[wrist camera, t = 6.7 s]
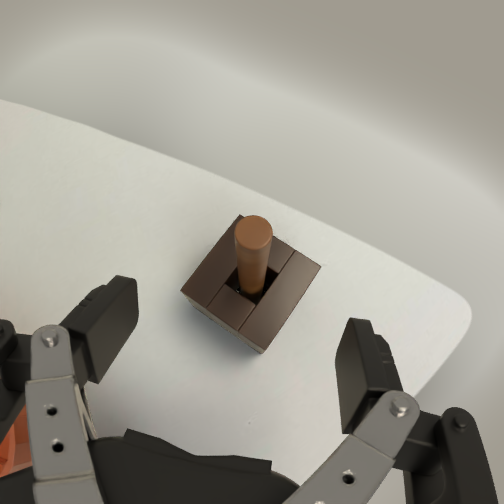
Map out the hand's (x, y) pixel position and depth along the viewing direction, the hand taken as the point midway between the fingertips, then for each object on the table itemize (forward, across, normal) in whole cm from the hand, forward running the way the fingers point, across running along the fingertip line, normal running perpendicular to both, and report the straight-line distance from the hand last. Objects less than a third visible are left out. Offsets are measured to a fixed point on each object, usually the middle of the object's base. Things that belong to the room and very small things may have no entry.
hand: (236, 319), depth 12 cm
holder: (+12, 0, +6) cm, 13 cm away
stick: (+12, 0, +6) cm, 13 cm away
